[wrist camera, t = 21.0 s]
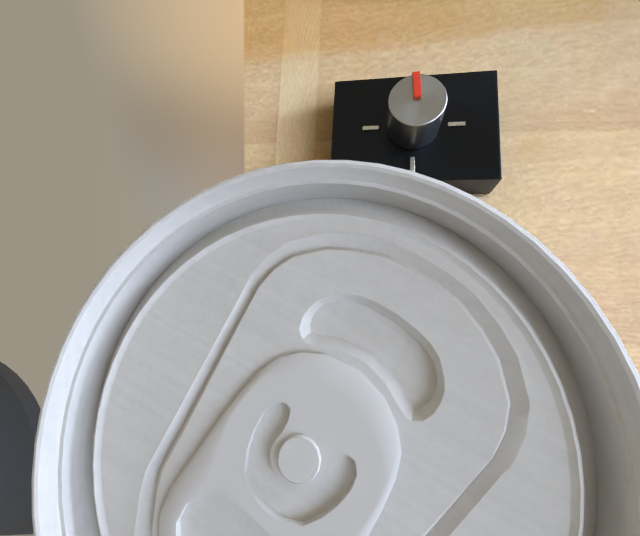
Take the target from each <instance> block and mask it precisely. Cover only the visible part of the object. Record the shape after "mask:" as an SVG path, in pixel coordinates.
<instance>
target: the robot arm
mask: <svg viewBox="0 0 640 536" xmlns="http://www.w3.org/2000/svg"><path fill="white" fill-rule="evenodd" d="M0 536H34V534H24V535H0Z"/></svg>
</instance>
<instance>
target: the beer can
mask: <svg viewBox="0 0 640 536" xmlns="http://www.w3.org/2000/svg"><path fill="white" fill-rule="evenodd" d="M32 521H33V531H34V536H640V376H639V374H638V372H637V370H636V368H635V366H634V364H633V362H632V360H631V359H630V357H629V355H628V353H627V351H626V349H625V347H624V345H623V343H622V341H621V339H620V338H619V336H618V334H617V333H616V331H615V330H614V328H613V327H612V325H611V324H610V322H609V321H608V319H607V318H606V316H605V315H604V313H603V312H602V310H601V309H600V307H599V306H598V304H597V303H596V302H595V300H594V299H593V298H592V296H591V295H590V294H589V293H588V292H587V290H586V289H585V288H584V287H583V286H582V285H581V283H580V282H579V281H578V280H577V279H576V277H575V276H574V275H573V274H572V273H571V271H570V270H569V269H568V268H567V267H566V266H565V265H564V264H563V263H562V262H561V261H560V260H559V259H558V258H557V257H556V256H555V255H554V254H552V253H551V252H550V251H549V250H548V249H547V248H546V247H545V246H544V245H543V244H542V243H541V242H540V241H539V240H538V239H536V238H535V237H534V236H533V235H531V234H530V233H529V232H527V231H526V230H525V229H523V228H522V227H521V226H519V225H518V224H517V223H516V222H514V221H513V220H512V219H510V218H509V217H508V216H506V215H505V214H503V213H501V212H500V211H498V210H496V209H495V208H493V207H491V206H490V205H488V204H486V203H485V202H483V201H481V200H480V199H478V198H477V197H475V196H473V195H470V194H468V193H466V192H464V191H462V190H460V189H458V188H455V187H453V186H451V185H449V184H447V183H445V182H442V181H439V180H436V179H434V178H431V177H428V176H425V175H422V174H419V173H416V172H413V171H410V170H405V169H401V168H396V167H392V166H387V165H383V164H378V163H369V162H360V161H351V160H310V161H301V162H291V163H284V164H279V165H274V166H270V167H265V168H261V169H256V170H253V171H250V172H247V173H244V174H241V175H238V176H235V177H232V178H229V179H227V180H224V181H222V182H220V183H218V184H215V185H213V186H211V187H209V188H207V189H204V190H202V191H200V192H198V193H197V194H195V195H193V196H192V197H190V198H188V199H187V200H185V201H183V202H181V203H180V204H178V205H176V206H175V207H174V208H172V209H171V210H169V211H168V212H167V213H165V214H164V215H163V216H161V217H160V218H159V219H157V220H156V221H154V222H153V223H152V224H151V225H150V226H148V227H147V228H146V229H145V230H144V231H143V232H142V233H141V234H140V235H138V236H137V237H136V238H135V239H134V240H133V241H132V242H131V243H130V244H129V245H128V246H127V247H126V248H125V249H124V250H123V251H122V252H121V253H120V255H119V256H118V257H117V258H116V259H115V260H114V261H113V262H112V263H111V265H110V266H109V267H108V268H107V270H106V271H105V272H104V274H103V275H102V276H101V278H100V279H99V281H98V282H97V283H96V284H95V286H94V287H93V288H92V290H91V291H90V293H89V295H88V296H87V298H86V299H85V301H84V303H83V304H82V306H81V308H80V309H79V311H78V313H77V315H76V316H75V318H74V320H73V322H72V324H71V326H70V328H69V330H68V333H67V334H66V337H65V339H64V341H63V343H62V345H61V347H60V350H59V353H58V355H57V358H56V360H55V363H54V366H53V368H52V371H51V374H50V377H49V380H48V384H47V387H46V391H45V395H44V398H43V402H42V406H41V410H40V415H39V421H38V427H37V432H36V438H35V444H34V456H33V468H32Z"/></svg>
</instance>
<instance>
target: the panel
mask: <svg viewBox="0 0 640 536" xmlns="http://www.w3.org/2000/svg"><path fill="white" fill-rule="evenodd" d="M429 76H432V77H434V78H436V79H437V80H439V81H440V82H441V83H442V84H443V86H444V87H445V89H446V92H447V97H448V100H447V105H446V108H445V112H444V115H443V118H442V121H441V124H440V127H439V131H438V133H437V135H436V137H435V138H434V140H433V141H432V142H430V143H429V144H428V145H426V146H424V147H422V148H418V149H405V148H401V147H399V146H397V145H396V144H395V143H393V142H392V140H391V139H390V138H389V136H388V133H387V114H388V99H389V95H390V92H391V90H392V89H393V87H394V86H395V85H396V84H397V83H398V82H399V81H400V80H402V79H404V78H406V77H396V78H382V79H368V80H354V81H340V82H335V96H334V115H333V133H332V152H331V160H351V161H360V162H369V163H378V164H383V165H387V166H392V167H396V168H401V169H405V170H410V171H413V172H416V173H419V174H422V175H425V176H428V177H431V178H434V179H436V180H439V181H442V182H445V183H447V184H449V185H451V186H453V187H455V188H458V189H460V190H462V191H464V192H466V193H468V194H489V193H490V192H491V191H492V190H493V189H494V187H495V186H496V185H497V184H498V183H499V181H500V180H501V179H502V177H501V154H500V131H499V108H498V84H497V70H495V71H481V72H467V73H453V74H439V75H429Z"/></svg>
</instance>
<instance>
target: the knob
mask: <svg viewBox="0 0 640 536" xmlns="http://www.w3.org/2000/svg"><path fill="white" fill-rule="evenodd" d="M447 100H448V97H447V92H446V89H445V87H444V86H443V84H442V83H441V82H440V81H439V80H437V79H436V78H434V77H432V76H429V75H424V74H420V71H418V72H413V73H412V75H411V76H408V77H406V78H404V79H402V80H400V81H399V82H398V83H397V84H396V85H395V86H394V87H393V89H392V90H391V92H390V95H389V99H388V114H387V133H388V136H389V138H390V139H391V140H392V142H393V143H395V144H396V145H397V146H399V147H401V148H405V149H418V148H422V147H424V146H426V145H428V144H429V143H430V142H432V141H433V140H434V138H435V137H436V135H437V133H438V131H439V127H440V124H441V121H442V118H443V115H444V112H445V108H446V105H447Z"/></svg>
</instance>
